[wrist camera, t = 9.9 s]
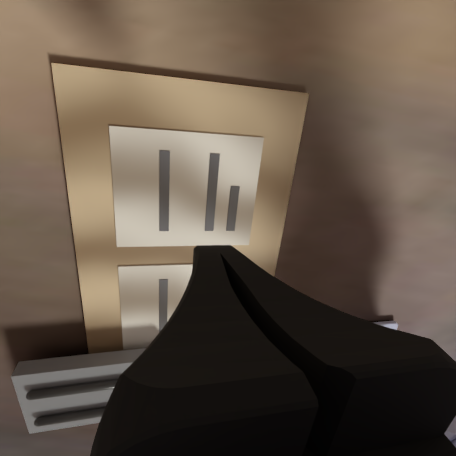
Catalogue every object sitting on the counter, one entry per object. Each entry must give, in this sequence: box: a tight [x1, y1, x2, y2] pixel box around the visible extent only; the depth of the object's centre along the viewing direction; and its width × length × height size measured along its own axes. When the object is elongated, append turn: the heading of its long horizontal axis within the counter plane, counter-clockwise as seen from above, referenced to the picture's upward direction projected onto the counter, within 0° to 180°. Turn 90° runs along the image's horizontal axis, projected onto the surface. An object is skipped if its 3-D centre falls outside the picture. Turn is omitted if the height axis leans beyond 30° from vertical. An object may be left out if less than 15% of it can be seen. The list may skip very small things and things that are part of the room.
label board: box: [51, 63, 309, 354], centre depth 21 cm, size 23×14×1 cm, turn 174°
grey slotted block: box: [11, 348, 146, 434], centre depth 22 cm, size 12×6×2 cm, turn 85°
